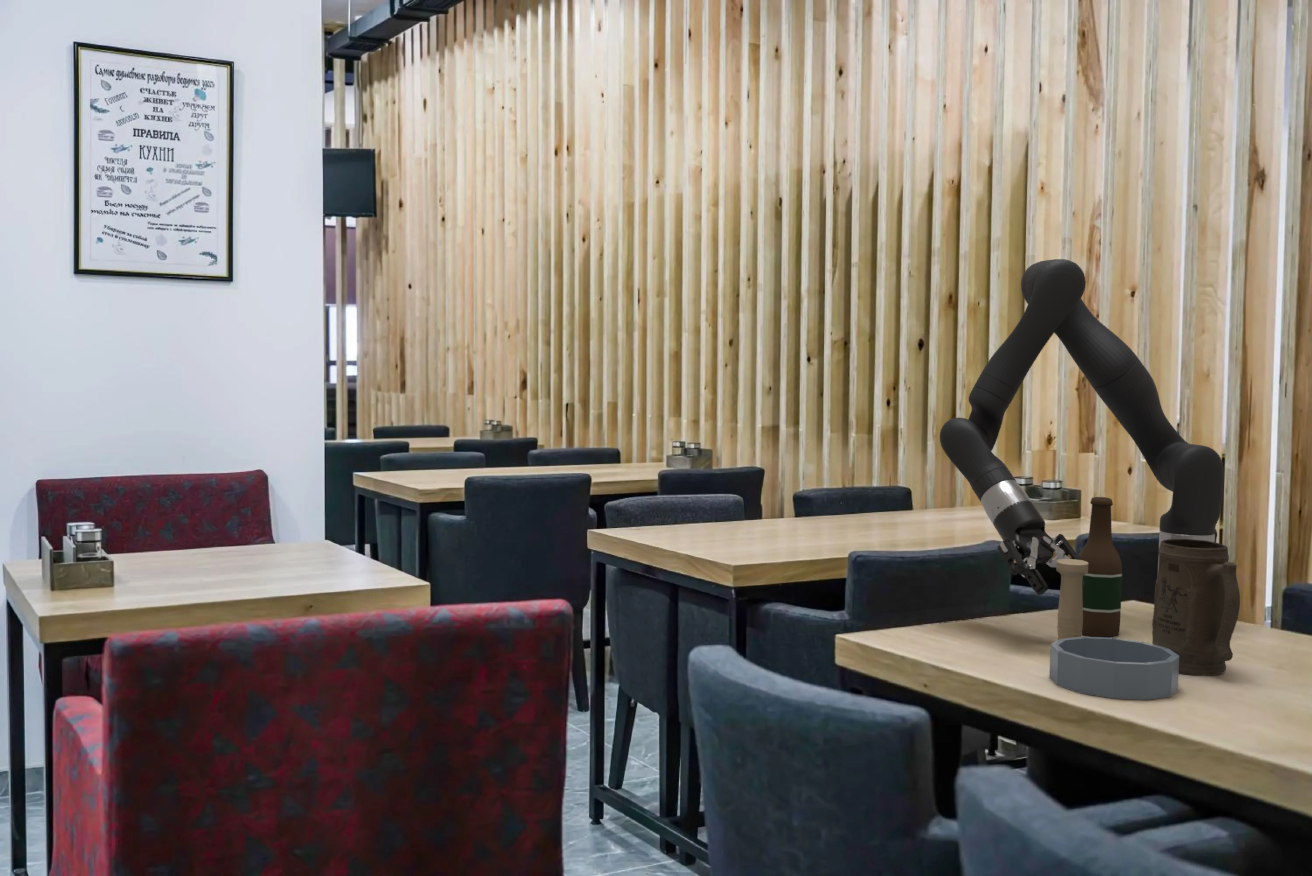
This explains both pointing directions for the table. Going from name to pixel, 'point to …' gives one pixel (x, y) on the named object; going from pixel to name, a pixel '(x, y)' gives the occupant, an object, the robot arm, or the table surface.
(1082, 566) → the handle
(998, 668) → the table surface
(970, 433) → the robot arm
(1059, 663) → the bowl
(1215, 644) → the beer stein
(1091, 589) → the beer bottle
